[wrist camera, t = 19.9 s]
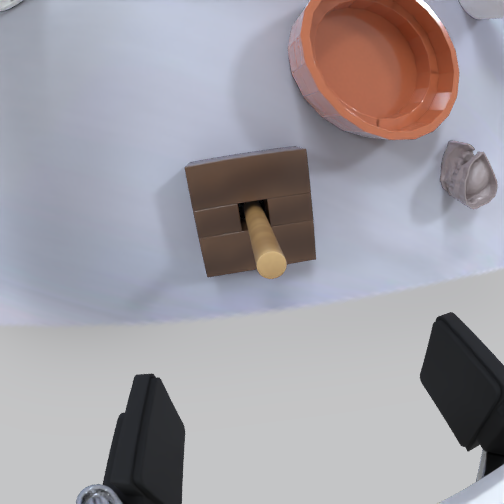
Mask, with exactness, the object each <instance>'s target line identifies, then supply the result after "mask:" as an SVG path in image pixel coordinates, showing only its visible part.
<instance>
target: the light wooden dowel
mask: <svg viewBox="0 0 504 504" xmlns="http://www.w3.org/2000/svg"><path fill="white" fill-rule="evenodd" d="M243 210H244V214H245V218H246V223H247V227H248V231H249V236H250V240H251V245H252V249H253V253H254V258H255V262H256V266H257V270H258V272H259V274H260V275H261V276H263V277H265V278H268V279H274V278H277V277H279V276H281V275H282V274H283V273H284V271H285V269H286V265H287V263H286V259H285V257H284V255H283V252H282V250H281V248H280V246H279V244H278V241H277V239H276V237H275V235H274V233H273V230H272V228H271V226H270V224H269V222H268V220H267V217H266V215H265V213H264V211H263V209H262V207H261V204H260V203H259V201H257V200H256V201H250V202H245V203H244V206H243Z"/></svg>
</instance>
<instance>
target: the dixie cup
mask: <svg viewBox="0 0 504 504" xmlns="http://www.w3.org/2000/svg"><path fill="white" fill-rule="evenodd" d="M459 2H460V4H461V6H462V7H463V9H464V10H465V11H466V12H467V13H468V14H469V15H470V16H471V17H473V18H475V19H497V18H504V0H459Z"/></svg>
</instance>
